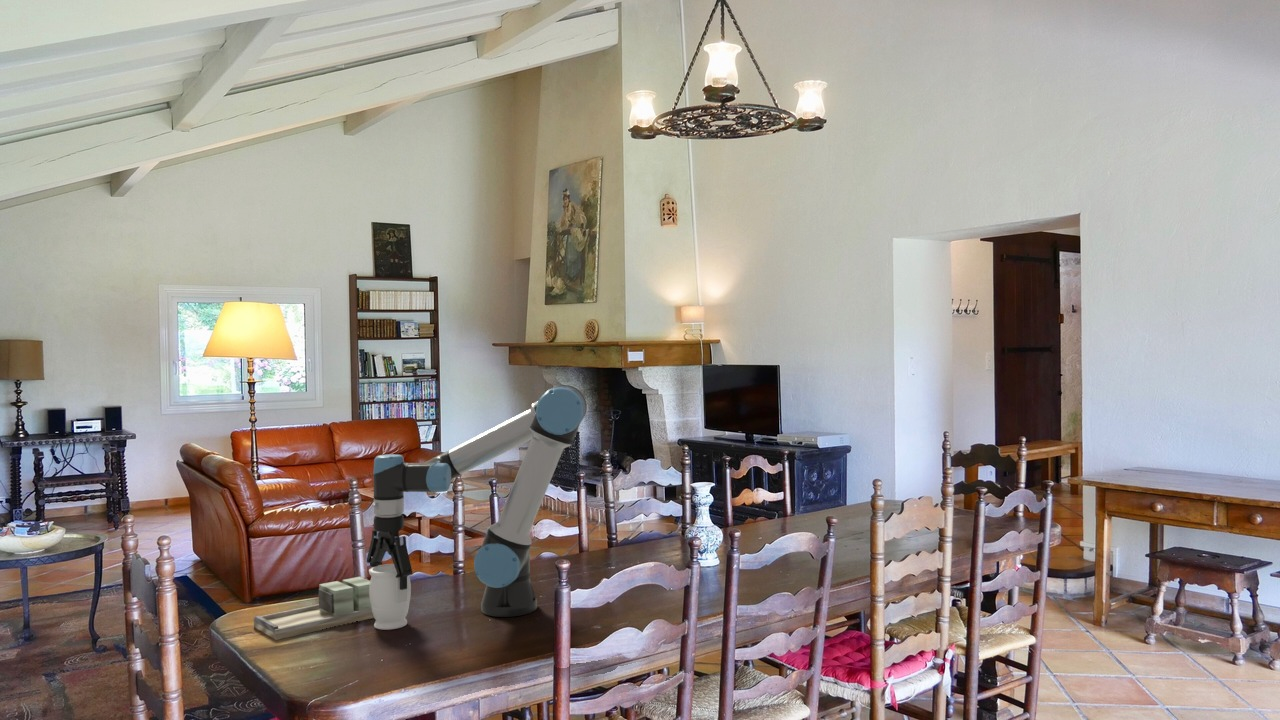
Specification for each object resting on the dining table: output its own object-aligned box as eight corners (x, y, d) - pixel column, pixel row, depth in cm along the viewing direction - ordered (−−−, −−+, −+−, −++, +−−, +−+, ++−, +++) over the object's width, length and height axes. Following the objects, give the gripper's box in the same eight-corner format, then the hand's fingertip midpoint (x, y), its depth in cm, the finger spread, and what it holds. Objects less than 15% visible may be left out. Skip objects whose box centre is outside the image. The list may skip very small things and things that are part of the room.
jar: (399, 632, 230) (398, 573, 230) (362, 630, 232) (361, 572, 232) (418, 620, 240) (417, 563, 240) (382, 618, 243) (381, 562, 242)
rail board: (380, 616, 245) (380, 584, 245) (276, 640, 226) (275, 605, 226) (355, 605, 256) (355, 575, 256) (253, 627, 237) (253, 594, 237)
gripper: (353, 510, 243) (353, 589, 243) (398, 523, 224) (398, 609, 224) (379, 506, 248) (379, 584, 248) (425, 519, 229) (426, 603, 230)
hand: (388, 596), depth 236 cm, fingers open, 13 cm apart
